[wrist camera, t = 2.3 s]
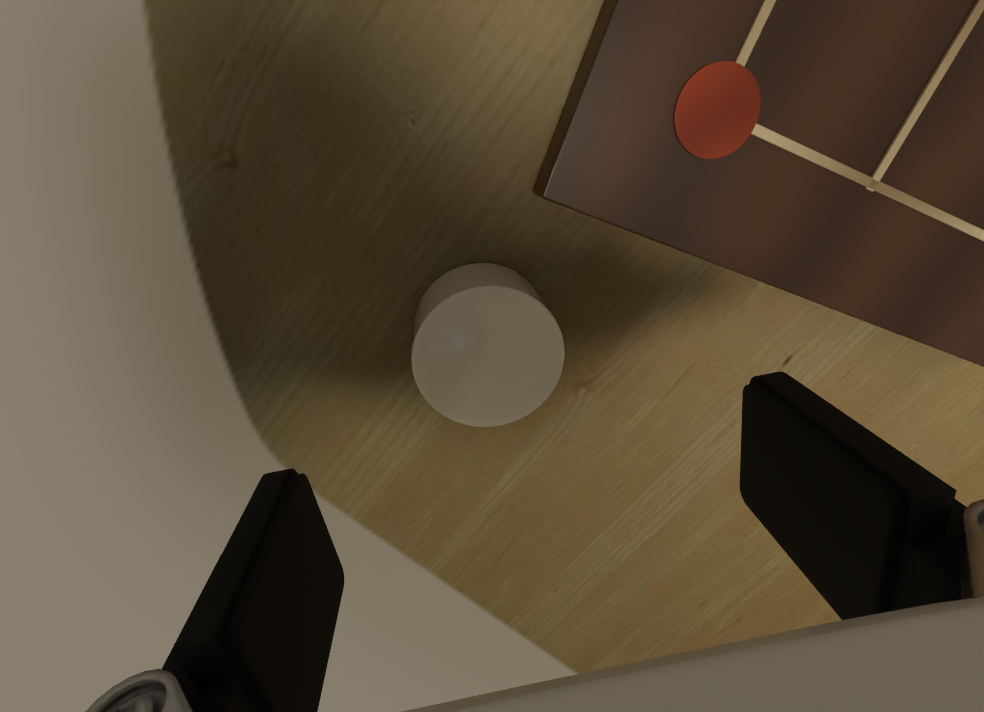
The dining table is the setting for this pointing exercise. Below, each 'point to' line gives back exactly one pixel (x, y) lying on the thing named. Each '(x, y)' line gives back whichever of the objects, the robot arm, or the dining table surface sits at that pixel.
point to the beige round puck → (485, 346)
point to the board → (794, 149)
